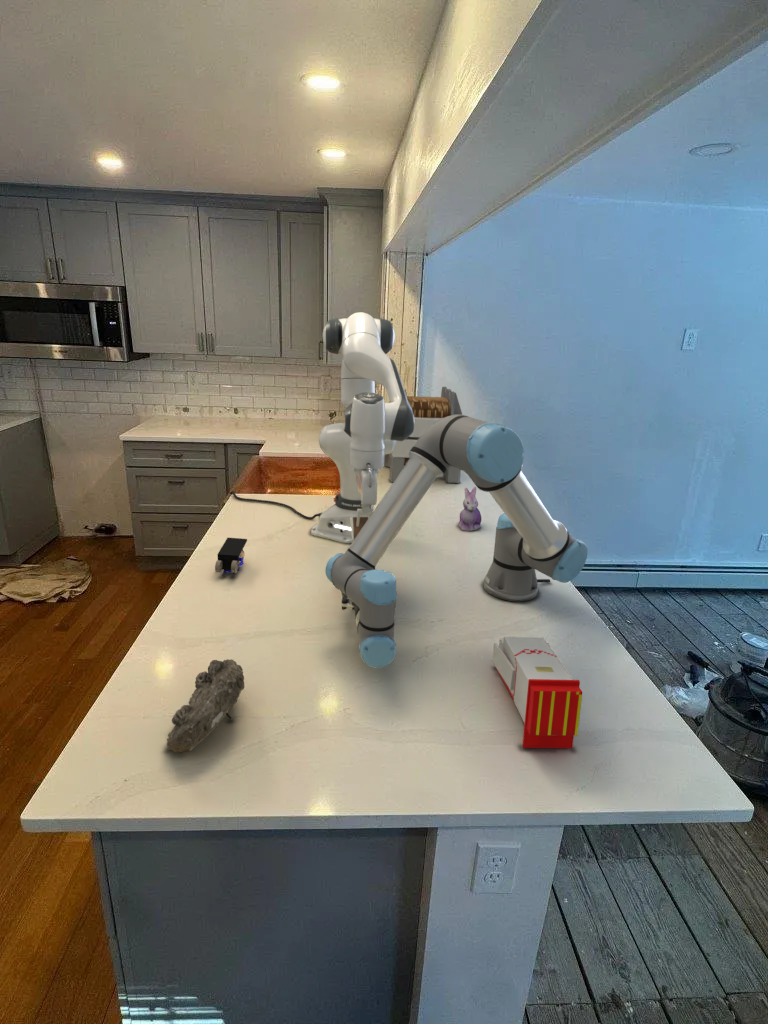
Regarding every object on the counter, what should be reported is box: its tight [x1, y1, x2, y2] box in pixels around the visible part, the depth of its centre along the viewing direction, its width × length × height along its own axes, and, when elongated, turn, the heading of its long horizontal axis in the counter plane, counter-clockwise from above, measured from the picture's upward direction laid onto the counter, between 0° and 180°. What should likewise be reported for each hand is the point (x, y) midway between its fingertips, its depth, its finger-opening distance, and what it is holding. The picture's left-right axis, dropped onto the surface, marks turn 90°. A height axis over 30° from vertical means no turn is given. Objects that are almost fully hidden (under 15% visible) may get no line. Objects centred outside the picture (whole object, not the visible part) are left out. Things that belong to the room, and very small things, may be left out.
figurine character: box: [214, 537, 248, 578], centre depth 166 cm, size 7×8×15 cm
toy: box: [491, 636, 583, 749], centre depth 115 cm, size 12×13×30 cm
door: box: [353, 509, 374, 539], centre depth 149 cm, size 15×5×9 cm
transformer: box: [384, 386, 463, 484], centre depth 268 cm, size 34×33×41 cm
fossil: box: [166, 658, 245, 754], centre depth 106 cm, size 22×10×15 cm
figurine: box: [458, 486, 482, 532], centre depth 206 cm, size 9×10×15 cm
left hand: (365, 510), depth 148 cm, fingers closed
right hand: (363, 573), depth 153 cm, fingers closed on chest, 5 cm apart
